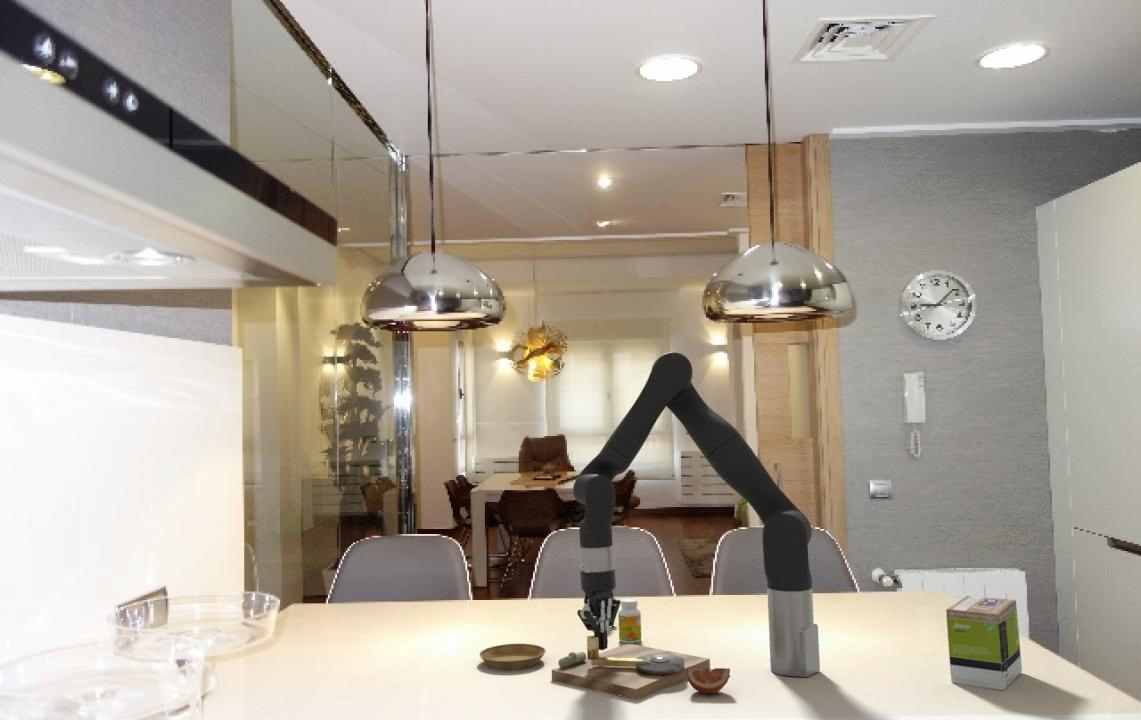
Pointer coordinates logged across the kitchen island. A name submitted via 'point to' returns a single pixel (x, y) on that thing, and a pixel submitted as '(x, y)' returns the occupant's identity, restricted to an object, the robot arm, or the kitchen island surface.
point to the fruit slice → (707, 679)
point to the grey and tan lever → (637, 660)
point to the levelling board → (621, 672)
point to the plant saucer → (512, 656)
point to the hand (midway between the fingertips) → (601, 649)
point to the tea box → (984, 642)
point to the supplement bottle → (629, 621)
